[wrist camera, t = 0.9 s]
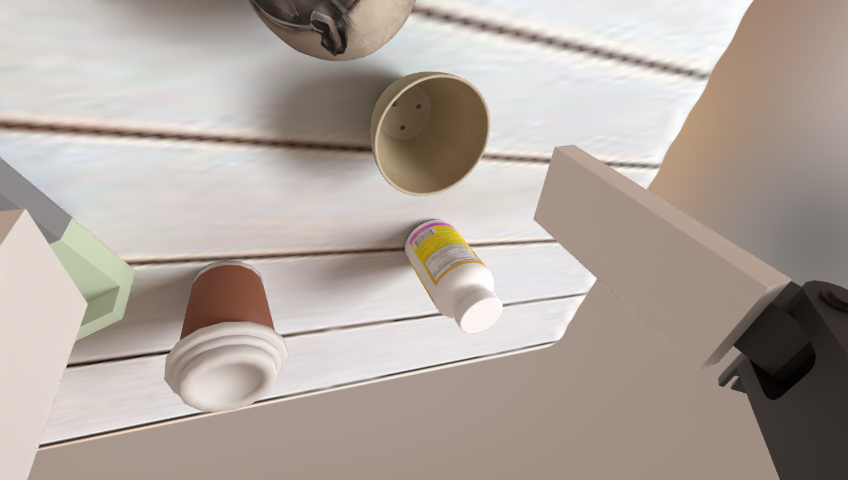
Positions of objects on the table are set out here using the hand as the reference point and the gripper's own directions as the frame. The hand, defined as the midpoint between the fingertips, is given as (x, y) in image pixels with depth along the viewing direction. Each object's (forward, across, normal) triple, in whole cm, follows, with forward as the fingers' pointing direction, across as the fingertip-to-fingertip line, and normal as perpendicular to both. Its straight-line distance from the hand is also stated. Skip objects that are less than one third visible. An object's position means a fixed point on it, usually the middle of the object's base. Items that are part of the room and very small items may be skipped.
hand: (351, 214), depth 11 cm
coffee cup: (+24, -8, -23) cm, 34 cm away
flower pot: (+25, +11, -6) cm, 28 cm away
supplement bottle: (+24, +15, -22) cm, 36 cm away
